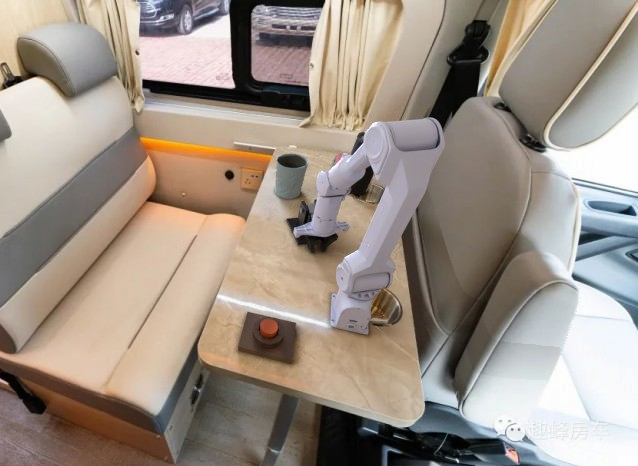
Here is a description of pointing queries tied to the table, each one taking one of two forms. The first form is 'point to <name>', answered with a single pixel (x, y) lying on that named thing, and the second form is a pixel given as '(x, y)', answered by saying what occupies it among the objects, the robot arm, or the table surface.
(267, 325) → the button
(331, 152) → the table surface
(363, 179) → the portable speaker
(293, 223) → the bracket
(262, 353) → the button block
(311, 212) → the lever
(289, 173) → the green cup
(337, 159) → the walkie-talkie
